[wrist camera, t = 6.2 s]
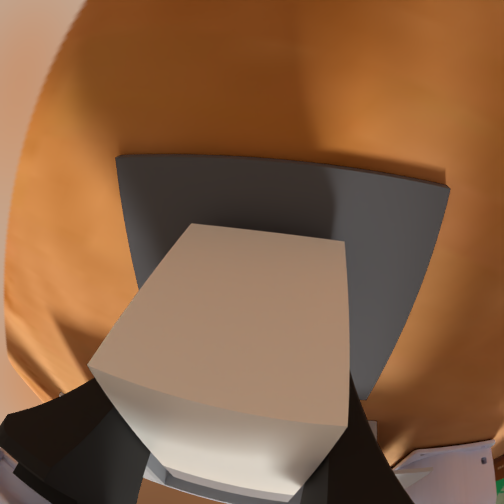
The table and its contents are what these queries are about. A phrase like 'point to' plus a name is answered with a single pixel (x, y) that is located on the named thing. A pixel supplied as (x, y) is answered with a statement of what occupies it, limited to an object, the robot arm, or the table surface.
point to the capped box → (235, 359)
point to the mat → (297, 227)
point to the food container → (499, 478)
